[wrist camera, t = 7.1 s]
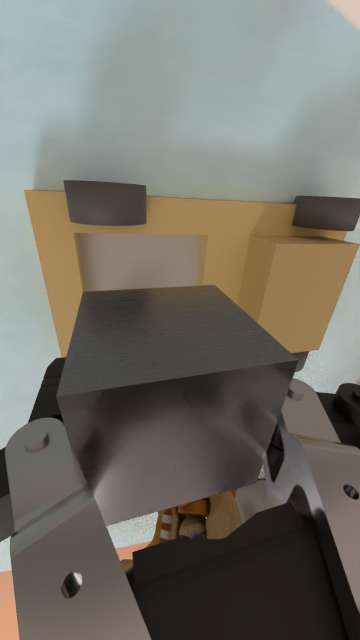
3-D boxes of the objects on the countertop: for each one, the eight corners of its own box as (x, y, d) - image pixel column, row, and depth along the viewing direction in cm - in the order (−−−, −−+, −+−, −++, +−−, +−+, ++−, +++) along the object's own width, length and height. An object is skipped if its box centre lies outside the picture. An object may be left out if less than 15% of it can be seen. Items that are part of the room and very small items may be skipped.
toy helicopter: (231, 452, 31) (305, 612, 19) (138, 538, 35) (151, 709, 24) (186, 437, 27) (244, 626, 15) (87, 536, 32) (73, 739, 20)
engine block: (214, 284, 11) (298, 359, 6) (203, 379, 13) (256, 483, 8) (82, 291, 9) (55, 396, 5) (99, 395, 12) (93, 529, 7)
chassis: (340, 199, 18) (402, 201, 14) (293, 342, 24) (328, 371, 20) (30, 179, 13) (-5, 174, 9) (70, 368, 19) (59, 412, 15)
